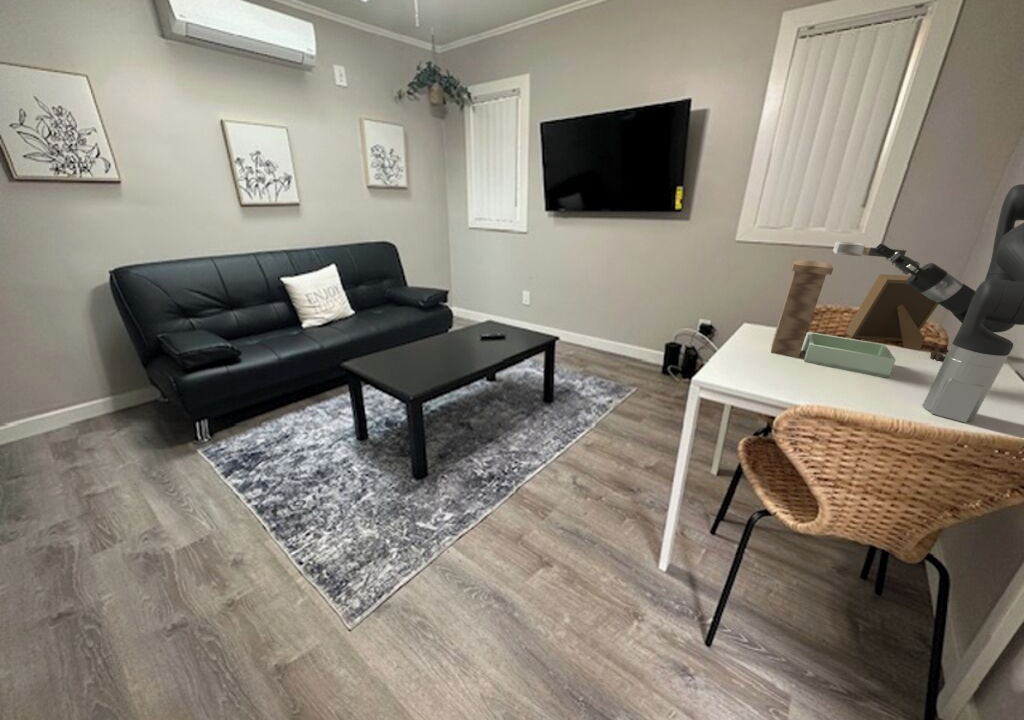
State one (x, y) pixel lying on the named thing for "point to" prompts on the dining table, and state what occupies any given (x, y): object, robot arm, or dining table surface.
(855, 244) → the scraper
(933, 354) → the bear figurine
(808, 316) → the scratching post
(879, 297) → the photo frame
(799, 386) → the dining table surface
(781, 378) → the dining table surface
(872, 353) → the tray
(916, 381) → the dining table surface
